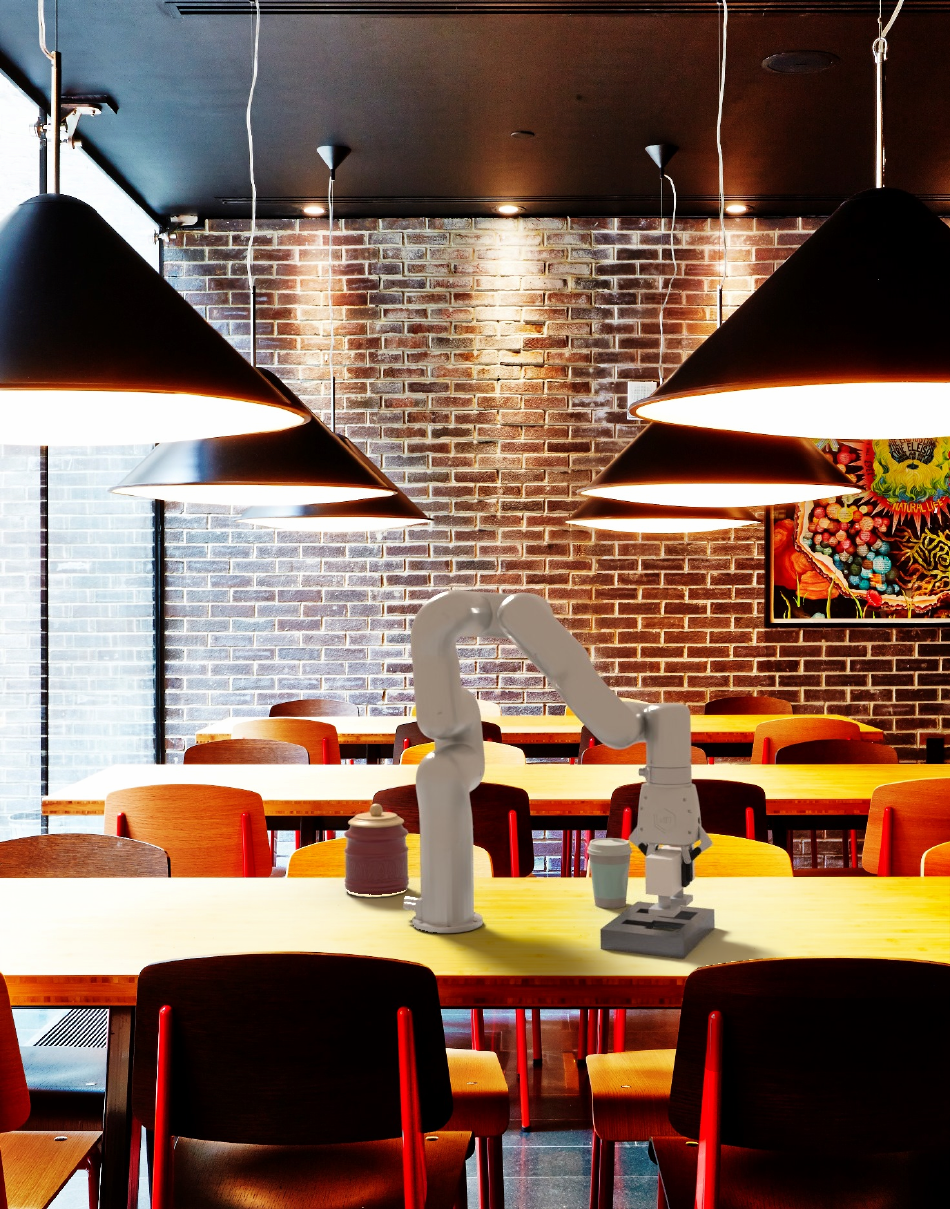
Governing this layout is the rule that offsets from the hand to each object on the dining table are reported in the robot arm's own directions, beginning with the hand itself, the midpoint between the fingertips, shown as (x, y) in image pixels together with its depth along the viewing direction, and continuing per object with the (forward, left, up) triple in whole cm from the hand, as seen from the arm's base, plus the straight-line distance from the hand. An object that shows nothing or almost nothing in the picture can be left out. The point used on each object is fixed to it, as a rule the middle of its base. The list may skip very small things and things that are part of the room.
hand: (670, 883), depth 188 cm
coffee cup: (-17, +18, -10) cm, 27 cm away
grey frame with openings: (-2, 0, -9) cm, 10 cm away
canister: (-64, +10, -10) cm, 66 cm away
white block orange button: (0, 0, -4) cm, 4 cm away
